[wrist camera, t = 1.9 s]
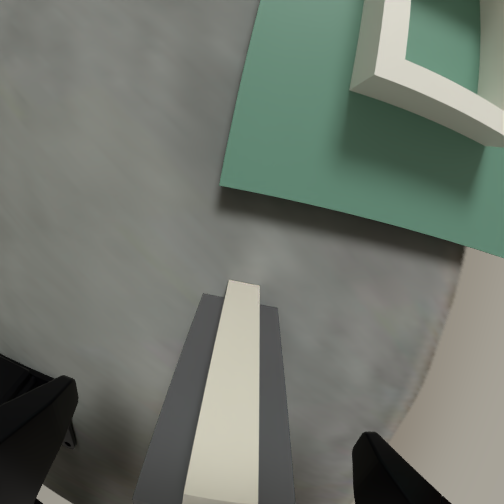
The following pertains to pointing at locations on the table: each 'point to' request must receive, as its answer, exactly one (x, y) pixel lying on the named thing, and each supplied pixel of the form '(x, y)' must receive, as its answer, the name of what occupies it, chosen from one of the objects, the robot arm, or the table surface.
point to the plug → (224, 411)
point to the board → (377, 113)
